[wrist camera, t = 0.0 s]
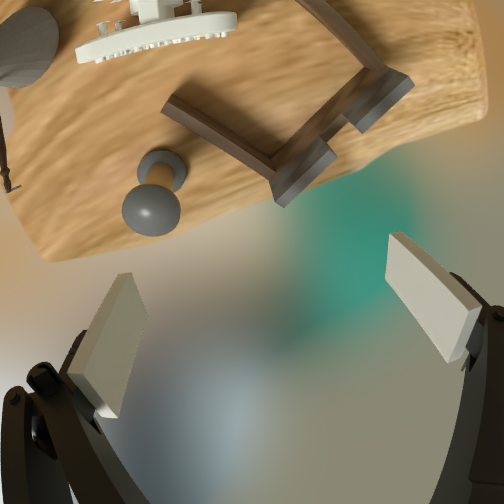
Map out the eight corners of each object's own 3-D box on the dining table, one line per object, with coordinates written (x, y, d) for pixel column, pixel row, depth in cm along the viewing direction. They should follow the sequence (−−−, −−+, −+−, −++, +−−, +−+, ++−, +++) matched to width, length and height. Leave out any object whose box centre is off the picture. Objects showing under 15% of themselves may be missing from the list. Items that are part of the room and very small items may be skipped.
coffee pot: (-3, 31, 17) (-76, 59, 6) (60, -10, 17) (-13, -7, 6) (35, 149, 32) (-17, 211, 22) (95, 124, 32) (46, 183, 22)
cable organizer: (227, -42, 19) (232, -69, 11) (232, 32, 26) (239, 36, 18) (101, -15, 18) (56, -23, 10) (110, 55, 26) (70, 73, 18)
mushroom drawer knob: (153, 140, 35) (137, 178, 28) (195, 164, 39) (191, 206, 32) (130, 178, 39) (113, 221, 32) (170, 198, 43) (162, 244, 36)
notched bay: (279, -25, 21) (299, -39, 15) (378, 68, 30) (415, 85, 24) (165, 103, 32) (151, 127, 26) (271, 171, 41) (283, 207, 35)
